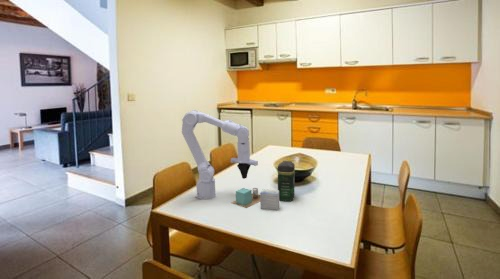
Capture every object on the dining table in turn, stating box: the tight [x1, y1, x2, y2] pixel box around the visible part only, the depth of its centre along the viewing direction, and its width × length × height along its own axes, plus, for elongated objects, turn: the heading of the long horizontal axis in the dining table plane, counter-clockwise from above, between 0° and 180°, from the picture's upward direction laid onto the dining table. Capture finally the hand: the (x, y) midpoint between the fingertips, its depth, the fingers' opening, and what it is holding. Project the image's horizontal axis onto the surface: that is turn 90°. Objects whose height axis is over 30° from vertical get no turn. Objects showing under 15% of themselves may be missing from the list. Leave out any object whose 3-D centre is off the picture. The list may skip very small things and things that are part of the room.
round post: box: [252, 187, 259, 199], centre depth 146 cm, size 3×3×4 cm
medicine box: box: [259, 188, 281, 211], centre depth 134 cm, size 8×4×9 cm, turn 74°
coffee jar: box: [277, 160, 296, 203], centre depth 144 cm, size 10×8×19 cm
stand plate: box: [230, 192, 261, 209], centre depth 144 cm, size 10×16×1 cm, turn 138°
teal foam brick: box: [235, 187, 253, 206], centre depth 140 cm, size 5×5×6 cm
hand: (244, 178), depth 148 cm, fingers closed
